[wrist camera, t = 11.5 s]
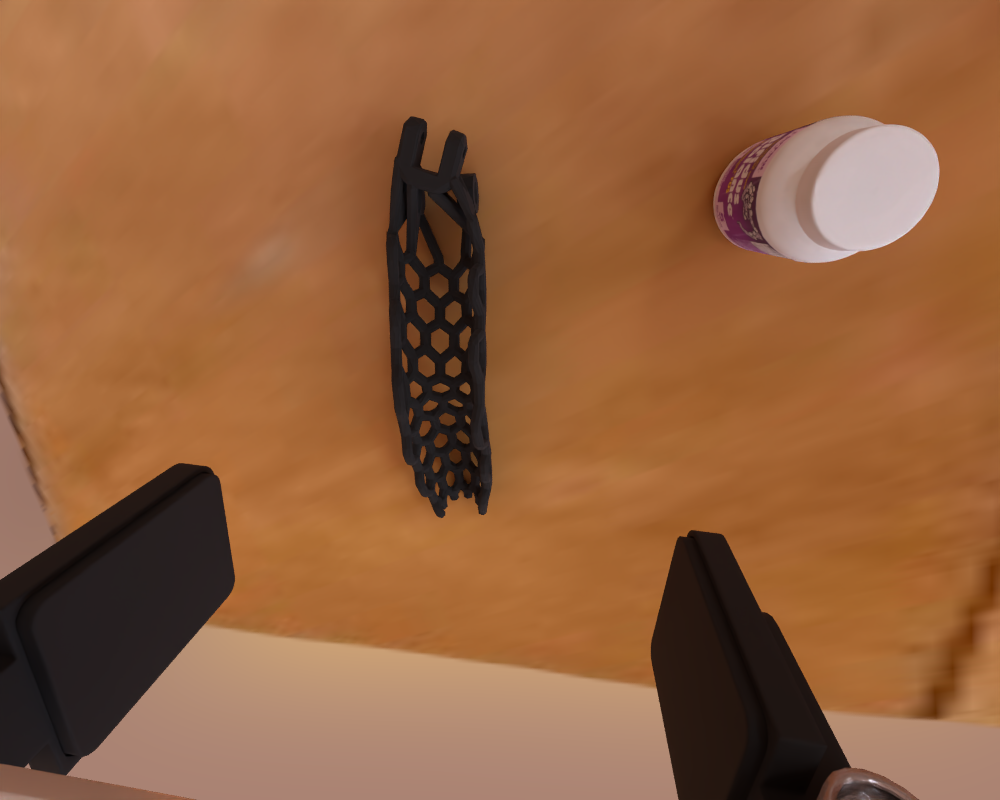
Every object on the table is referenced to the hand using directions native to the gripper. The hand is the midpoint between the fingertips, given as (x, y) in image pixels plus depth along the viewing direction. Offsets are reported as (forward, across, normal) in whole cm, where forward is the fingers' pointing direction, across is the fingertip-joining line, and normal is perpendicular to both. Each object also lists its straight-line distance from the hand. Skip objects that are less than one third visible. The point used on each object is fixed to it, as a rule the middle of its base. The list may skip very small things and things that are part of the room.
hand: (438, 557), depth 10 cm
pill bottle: (+21, -12, -8) cm, 26 cm away
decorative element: (+21, +4, +1) cm, 21 cm away
